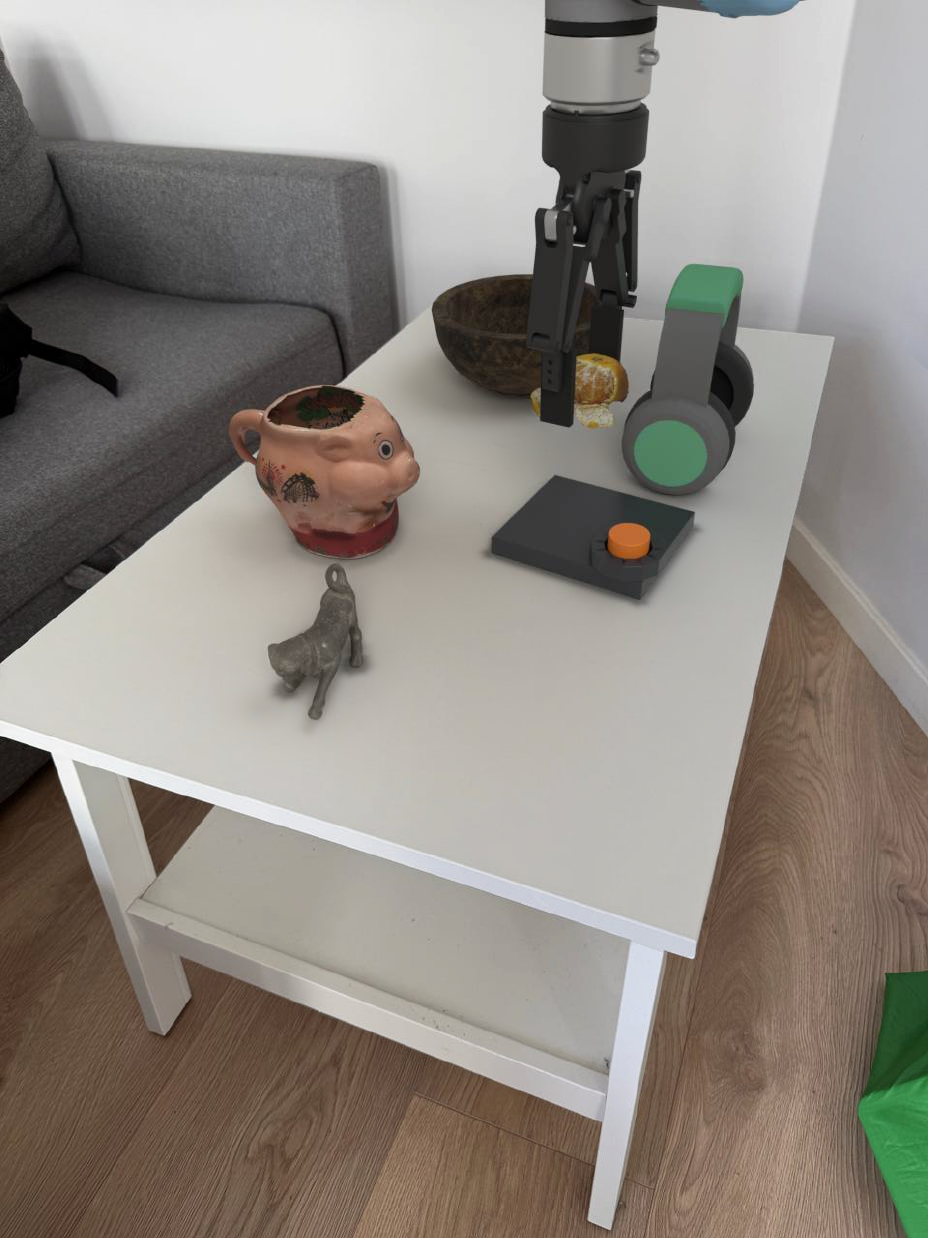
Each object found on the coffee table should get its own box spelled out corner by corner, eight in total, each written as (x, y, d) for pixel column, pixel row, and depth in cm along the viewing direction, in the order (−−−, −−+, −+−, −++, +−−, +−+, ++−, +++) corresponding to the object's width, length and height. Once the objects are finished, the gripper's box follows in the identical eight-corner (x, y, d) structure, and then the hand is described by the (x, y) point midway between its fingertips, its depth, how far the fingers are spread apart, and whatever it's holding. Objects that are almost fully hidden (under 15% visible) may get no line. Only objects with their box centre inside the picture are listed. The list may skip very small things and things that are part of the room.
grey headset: (654, 414, 107) (673, 236, 95) (749, 428, 104) (782, 246, 91) (611, 493, 94) (626, 298, 81) (718, 512, 90) (752, 312, 78)
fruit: (519, 410, 78) (520, 369, 76) (570, 375, 83) (572, 336, 81) (605, 435, 74) (608, 393, 72) (653, 397, 79) (657, 356, 77)
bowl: (560, 437, 104) (563, 352, 97) (402, 398, 113) (395, 319, 107) (636, 367, 118) (643, 289, 112) (490, 338, 127) (489, 264, 121)
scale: (700, 530, 88) (705, 499, 86) (644, 607, 79) (648, 574, 77) (554, 490, 95) (555, 460, 93) (487, 557, 86) (486, 525, 84)
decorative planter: (211, 550, 88) (177, 418, 79) (271, 488, 97) (247, 362, 88) (403, 585, 83) (390, 447, 74) (448, 516, 92) (441, 385, 83)
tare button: (655, 543, 81) (656, 529, 80) (639, 564, 79) (640, 549, 78) (617, 533, 83) (618, 518, 82) (600, 553, 80) (601, 538, 79)
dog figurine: (317, 623, 79) (305, 552, 74) (380, 634, 77) (371, 562, 73) (254, 720, 70) (236, 646, 65) (324, 733, 68) (310, 659, 64)
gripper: (578, 137, 56) (565, 465, 70) (699, 80, 70) (667, 363, 84) (473, 127, 59) (480, 443, 73) (609, 75, 73) (593, 348, 87)
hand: (580, 400), depth 79 cm, fingers closed on fruit, 8 cm apart
